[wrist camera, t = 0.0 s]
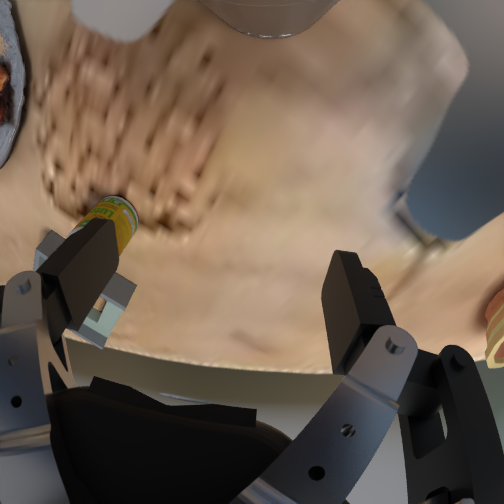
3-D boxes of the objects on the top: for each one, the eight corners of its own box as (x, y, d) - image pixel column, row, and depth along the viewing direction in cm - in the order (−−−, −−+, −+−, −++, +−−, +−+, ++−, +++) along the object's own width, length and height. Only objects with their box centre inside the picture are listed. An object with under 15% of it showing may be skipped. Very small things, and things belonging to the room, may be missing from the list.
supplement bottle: (129, 189, 28) (81, 244, 20) (146, 233, 31) (110, 295, 23) (90, 199, 29) (41, 251, 21) (108, 239, 32) (69, 296, 24)
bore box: (136, 285, 36) (126, 307, 33) (110, 330, 43) (102, 349, 40) (52, 230, 32) (35, 248, 29) (42, 286, 39) (30, 303, 35)
